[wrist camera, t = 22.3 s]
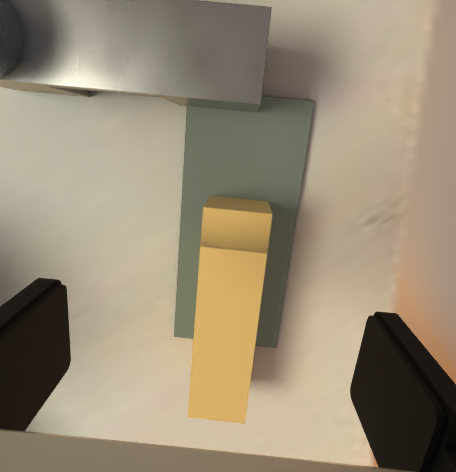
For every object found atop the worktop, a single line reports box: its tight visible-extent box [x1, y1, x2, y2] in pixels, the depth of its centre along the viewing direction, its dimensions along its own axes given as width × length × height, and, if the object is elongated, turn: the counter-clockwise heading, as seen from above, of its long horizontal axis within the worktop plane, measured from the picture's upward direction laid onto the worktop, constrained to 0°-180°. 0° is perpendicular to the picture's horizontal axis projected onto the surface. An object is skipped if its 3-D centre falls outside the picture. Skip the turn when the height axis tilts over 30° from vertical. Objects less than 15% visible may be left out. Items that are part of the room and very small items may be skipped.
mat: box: [174, 96, 314, 348], centre depth 25 cm, size 18×8×1 cm, turn 175°
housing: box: [0, 0, 272, 112], centre depth 17 cm, size 4×16×10 cm, turn 85°
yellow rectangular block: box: [188, 196, 272, 424], centre depth 24 cm, size 15×4×4 cm, turn 175°
